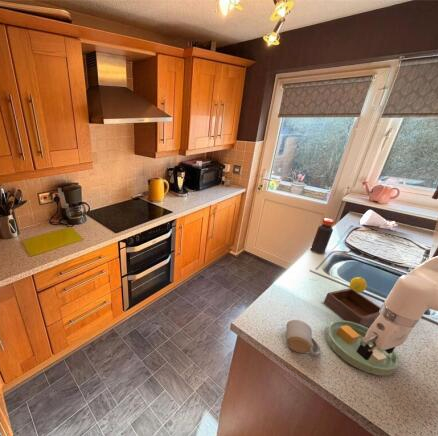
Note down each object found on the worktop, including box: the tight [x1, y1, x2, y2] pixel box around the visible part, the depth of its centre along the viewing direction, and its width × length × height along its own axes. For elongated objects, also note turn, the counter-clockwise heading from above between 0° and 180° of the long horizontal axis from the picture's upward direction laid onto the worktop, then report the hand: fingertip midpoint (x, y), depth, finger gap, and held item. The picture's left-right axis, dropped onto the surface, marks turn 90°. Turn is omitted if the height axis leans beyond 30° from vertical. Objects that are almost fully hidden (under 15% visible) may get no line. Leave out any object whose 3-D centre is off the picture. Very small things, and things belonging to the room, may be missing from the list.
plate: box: [325, 319, 400, 376], centre depth 79 cm, size 18×18×4 cm
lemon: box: [349, 276, 368, 293], centre depth 103 cm, size 6×6×8 cm
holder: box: [323, 287, 381, 328], centre depth 93 cm, size 13×14×6 cm
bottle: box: [310, 218, 335, 255], centre depth 132 cm, size 7×7×20 cm
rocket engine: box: [359, 209, 399, 232], centre depth 163 cm, size 12×12×18 cm
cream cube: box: [367, 345, 387, 366], centre depth 75 cm, size 4×5×4 cm
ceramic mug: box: [285, 319, 321, 356], centre depth 79 cm, size 11×8×8 cm
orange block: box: [337, 325, 360, 344], centre depth 82 cm, size 4×5×4 cm
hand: (373, 352), depth 75 cm, fingers open, 9 cm apart
